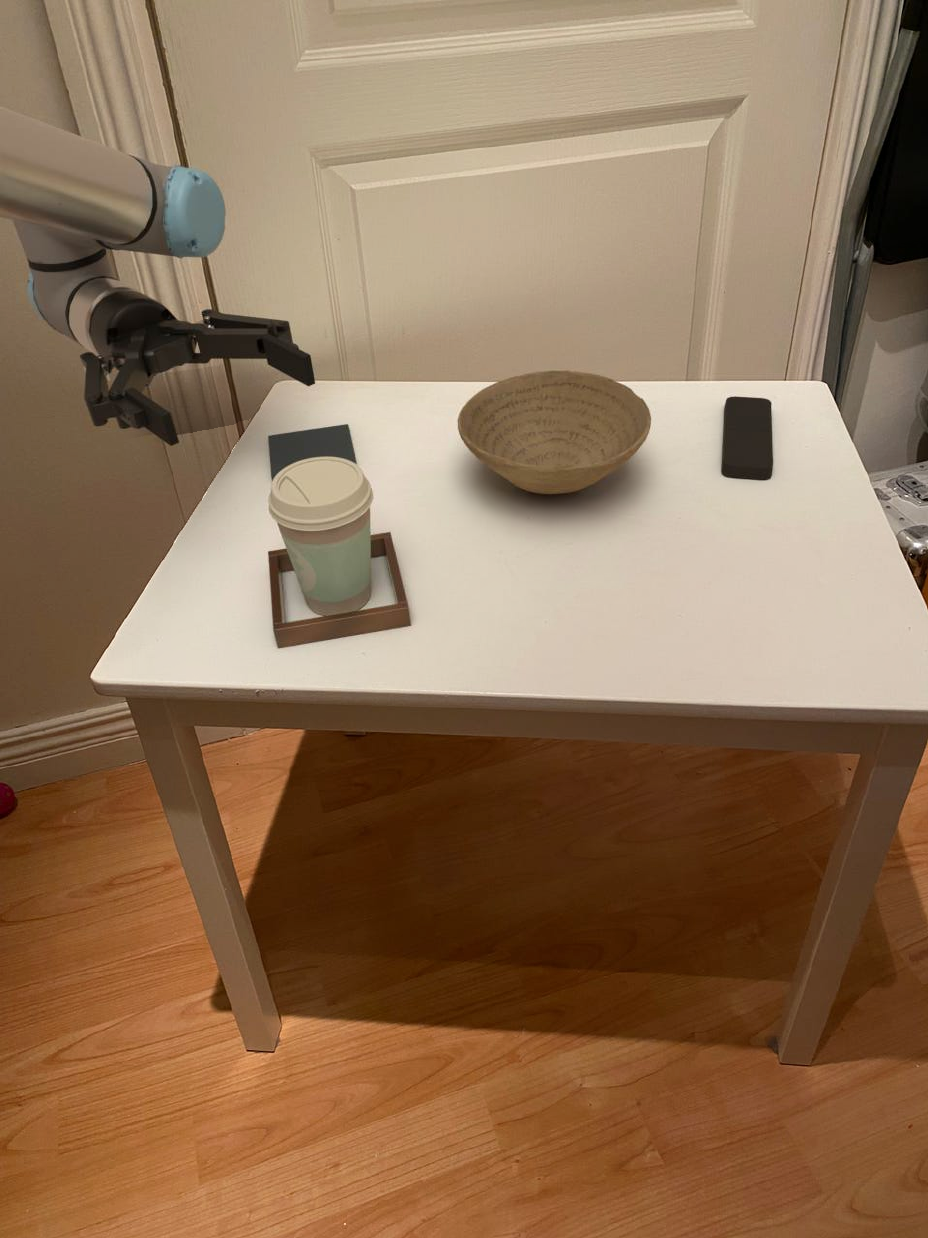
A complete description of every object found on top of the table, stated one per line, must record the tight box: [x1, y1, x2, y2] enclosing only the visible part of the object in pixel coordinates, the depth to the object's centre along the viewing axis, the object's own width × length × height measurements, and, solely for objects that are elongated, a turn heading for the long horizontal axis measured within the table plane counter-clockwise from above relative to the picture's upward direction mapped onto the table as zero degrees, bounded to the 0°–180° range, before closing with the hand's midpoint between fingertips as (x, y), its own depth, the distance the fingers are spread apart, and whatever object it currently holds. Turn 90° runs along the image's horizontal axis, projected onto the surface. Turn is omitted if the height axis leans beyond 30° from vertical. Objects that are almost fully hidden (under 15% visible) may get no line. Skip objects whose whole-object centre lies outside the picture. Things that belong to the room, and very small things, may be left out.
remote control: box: [720, 396, 774, 480], centre depth 98 cm, size 5×2×15 cm
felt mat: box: [267, 423, 358, 482], centre depth 102 cm, size 9×9×1 cm
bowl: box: [457, 370, 652, 495], centre depth 92 cm, size 18×18×8 cm
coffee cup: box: [268, 457, 374, 616], centre depth 79 cm, size 8×8×12 cm
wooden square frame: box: [267, 531, 412, 649], centre depth 82 cm, size 11×11×2 cm
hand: (243, 399), depth 78 cm, fingers open, 13 cm apart
